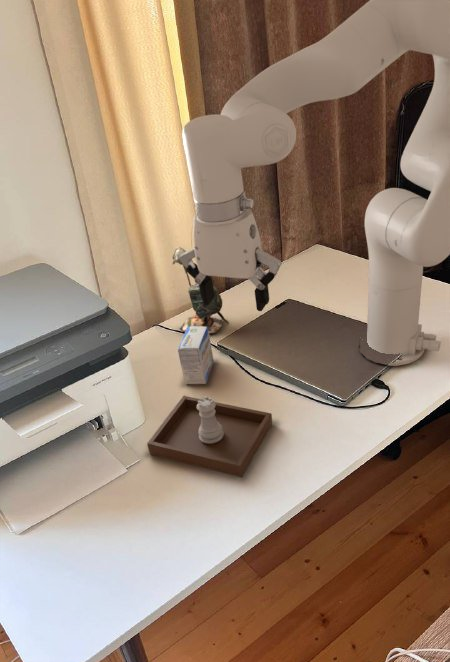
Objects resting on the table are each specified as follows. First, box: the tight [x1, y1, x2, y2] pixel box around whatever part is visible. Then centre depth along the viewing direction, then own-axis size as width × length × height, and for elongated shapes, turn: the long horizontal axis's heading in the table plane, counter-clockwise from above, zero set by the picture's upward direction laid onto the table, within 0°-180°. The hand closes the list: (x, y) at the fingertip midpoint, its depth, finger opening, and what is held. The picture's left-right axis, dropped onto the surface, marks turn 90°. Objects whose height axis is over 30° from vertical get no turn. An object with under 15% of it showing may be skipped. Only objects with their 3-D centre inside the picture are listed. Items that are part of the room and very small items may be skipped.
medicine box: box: [177, 326, 215, 385], centre depth 124 cm, size 8×4×9 cm, turn 168°
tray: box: [146, 395, 274, 478], centre depth 110 cm, size 18×14×3 cm
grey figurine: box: [171, 246, 230, 334], centre depth 133 cm, size 8×11×20 cm
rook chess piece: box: [197, 396, 224, 444], centre depth 108 cm, size 4×4×8 cm
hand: (235, 304), depth 105 cm, fingers open, 9 cm apart
